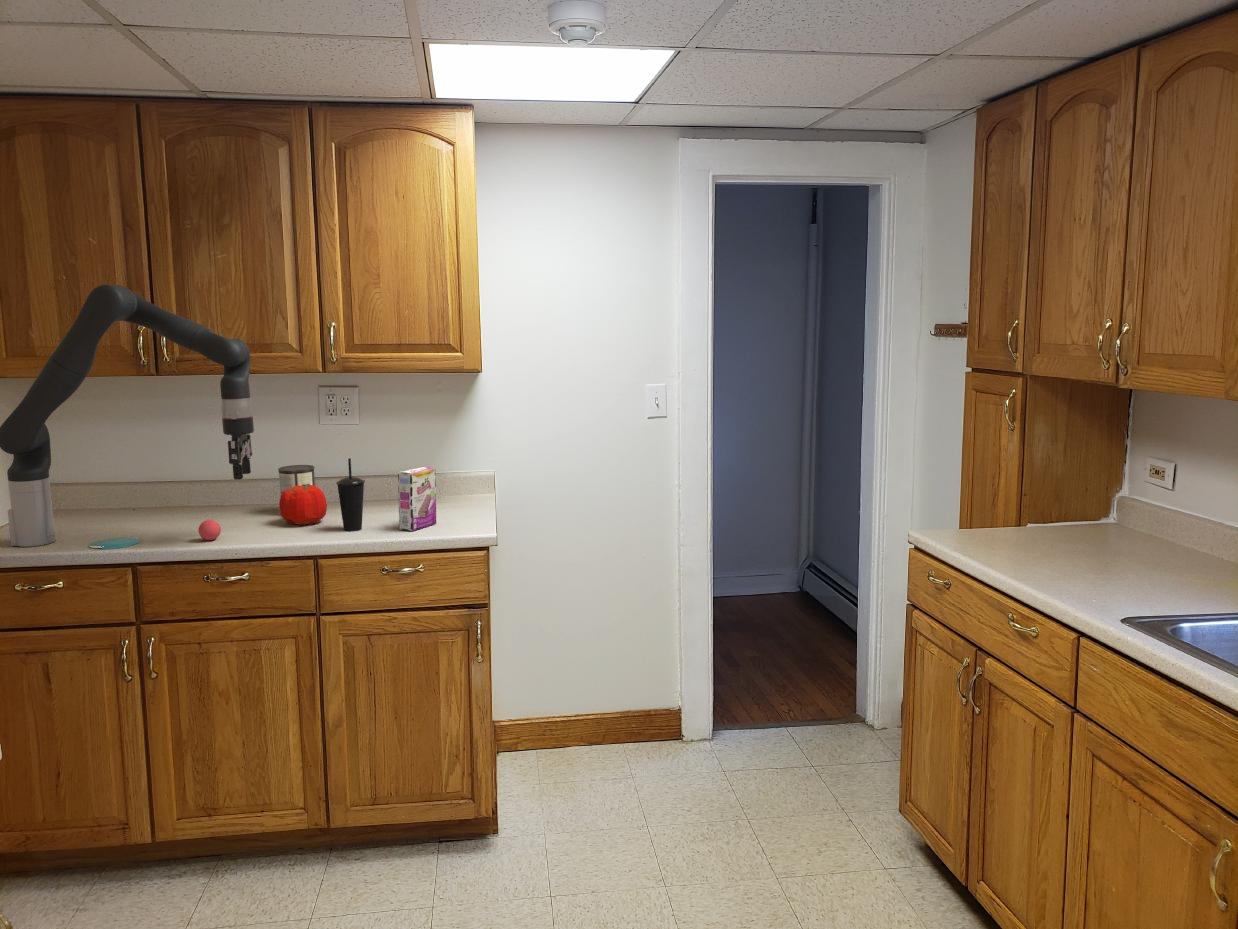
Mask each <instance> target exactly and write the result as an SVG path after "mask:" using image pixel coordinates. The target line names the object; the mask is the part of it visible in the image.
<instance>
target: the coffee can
mask: <svg viewBox="0 0 1238 929" xmlns="http://www.w3.org/2000/svg"><path fill="white" fill-rule="evenodd" d="M315 477H316V476H315V466H314V465H310V464H296V465H295V464H292V465H285V466H284V465H283V466H280V467H279V468H278V478H279V493H280V496H281V494H282V493H283V491H285V490H287V489H290V488H292V487H295V486H297V485H300V486H306V487H308V486H309V485H313V486H316V481H315V480H316V479H315Z"/></svg>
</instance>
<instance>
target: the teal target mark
mask: <svg viewBox="0 0 1238 929" xmlns="http://www.w3.org/2000/svg"><path fill="white" fill-rule="evenodd" d="M140 542H141V540H140V538H136V537H114V538H106V539H101V540H97V541H93V542H91V543H89V544H88V546H101V547H102V546H104V547H102V549H101V550H113V548H115V549H122V548H126V547H127V546H128V547H131V546H135V545H137V544H139V543H140ZM110 548H112V549H110Z"/></svg>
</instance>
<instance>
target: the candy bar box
mask: <svg viewBox="0 0 1238 929" xmlns="http://www.w3.org/2000/svg"><path fill="white" fill-rule="evenodd" d="M397 481H398V482H397V484H398V485H397V486H398V487H397V488H398V489H397V491H398V524H399V530H400V531H404V530H408V531H407V532H416V531H418V530H422V529H424V528H423V527H425V528H427V527H426V526H428V527H430V525H431V526H433V524H434V525H436V524H437V494H436V491H437V490H436V489H437V488H436V487H437V486H436V485H437V484H436V468H434V467H428V466H427V467H423V466H421V467H416V468H412V469H407V470H403V471H402V470H401V471H399V472H397ZM435 523H436V524H435ZM421 528H422V529H421Z"/></svg>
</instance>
